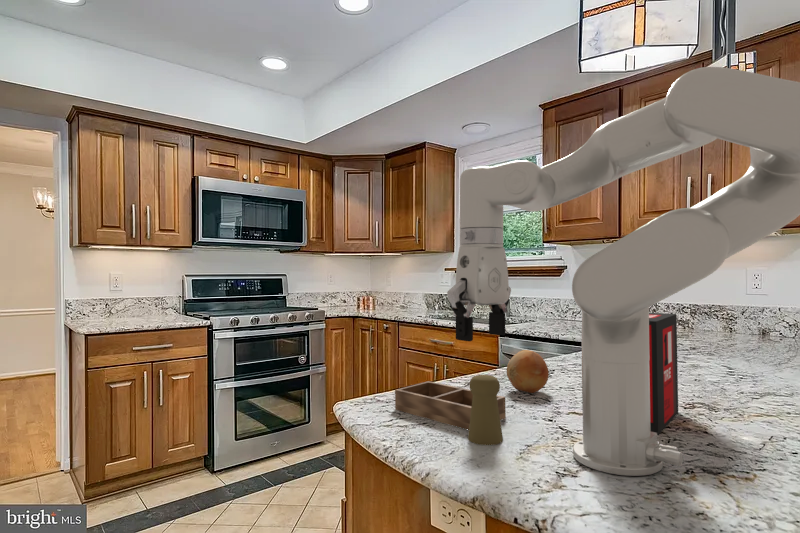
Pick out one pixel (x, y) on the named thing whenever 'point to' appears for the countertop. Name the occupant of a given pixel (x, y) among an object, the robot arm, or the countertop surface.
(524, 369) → the onion
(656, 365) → the cleaning product box
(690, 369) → the countertop surface
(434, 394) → the wooden divided tray
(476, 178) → the robot arm
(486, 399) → the cork
